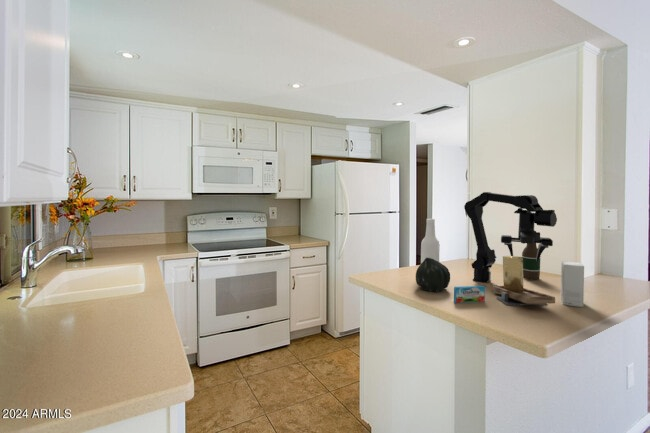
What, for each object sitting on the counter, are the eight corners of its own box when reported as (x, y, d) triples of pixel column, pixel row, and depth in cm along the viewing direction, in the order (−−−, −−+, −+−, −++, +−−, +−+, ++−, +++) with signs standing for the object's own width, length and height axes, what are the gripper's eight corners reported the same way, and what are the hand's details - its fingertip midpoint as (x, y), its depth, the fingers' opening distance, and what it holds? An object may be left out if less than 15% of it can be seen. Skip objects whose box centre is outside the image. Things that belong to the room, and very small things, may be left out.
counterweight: (501, 291, 132) (500, 256, 132) (506, 288, 137) (505, 255, 137) (521, 293, 127) (520, 257, 128) (525, 290, 132) (524, 256, 133)
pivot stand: (496, 298, 131) (496, 289, 131) (533, 298, 131) (533, 289, 131) (507, 305, 123) (508, 296, 123) (546, 304, 123) (547, 295, 123)
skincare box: (583, 307, 120) (585, 266, 119) (561, 304, 123) (563, 264, 122) (580, 301, 127) (582, 262, 126) (559, 298, 130) (561, 260, 129)
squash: (461, 277, 143) (439, 250, 149) (447, 286, 132) (424, 256, 138) (438, 293, 151) (418, 266, 157) (423, 302, 140) (402, 273, 146)
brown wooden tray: (492, 291, 138) (492, 285, 138) (516, 290, 139) (516, 285, 139) (527, 303, 115) (526, 297, 116) (555, 303, 116) (555, 297, 116)
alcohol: (441, 277, 164) (442, 218, 162) (434, 281, 157) (435, 219, 155) (425, 275, 169) (425, 217, 167) (417, 278, 163) (418, 219, 161)
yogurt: (482, 300, 129) (483, 285, 128) (484, 302, 127) (485, 286, 127) (453, 302, 128) (454, 286, 127) (455, 303, 126) (455, 287, 126)
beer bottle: (539, 277, 163) (541, 230, 161) (539, 281, 156) (541, 231, 155) (521, 275, 167) (522, 229, 165) (520, 279, 160) (522, 230, 159)
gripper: (502, 225, 137) (500, 261, 138) (556, 227, 128) (553, 266, 130) (501, 222, 147) (500, 256, 148) (551, 224, 138) (549, 260, 140)
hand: (524, 260), depth 141 cm, fingers open, 9 cm apart
